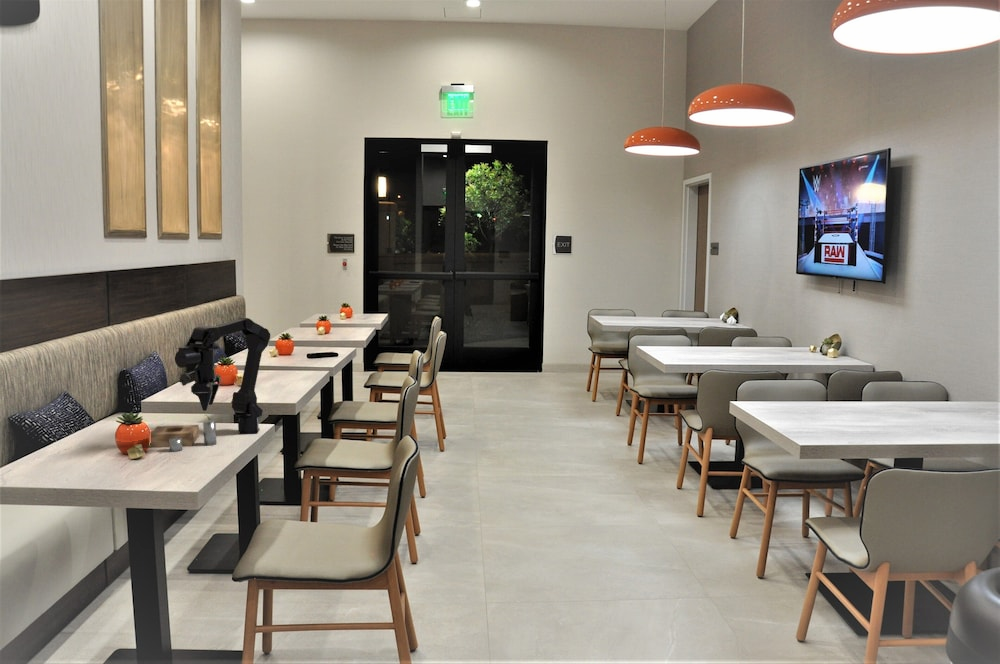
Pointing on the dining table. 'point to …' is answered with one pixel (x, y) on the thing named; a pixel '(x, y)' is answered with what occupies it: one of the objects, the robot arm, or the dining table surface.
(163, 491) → the dining table surface
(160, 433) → the hole block
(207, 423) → the tall pin
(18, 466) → the dining table surface
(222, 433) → the dining table surface
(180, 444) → the short pin
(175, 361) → the robot arm
